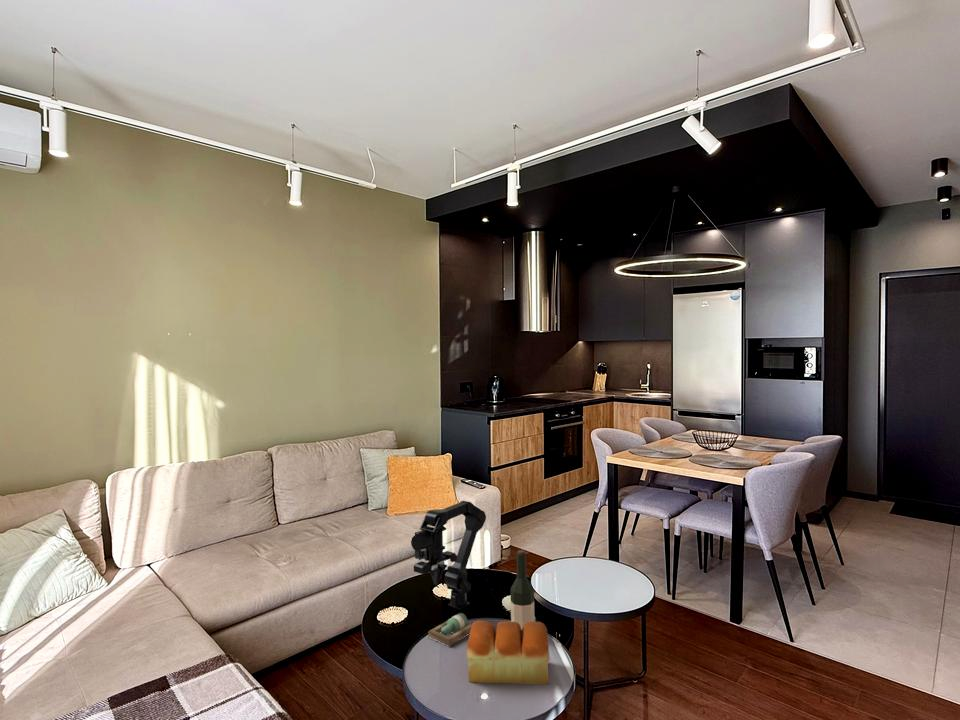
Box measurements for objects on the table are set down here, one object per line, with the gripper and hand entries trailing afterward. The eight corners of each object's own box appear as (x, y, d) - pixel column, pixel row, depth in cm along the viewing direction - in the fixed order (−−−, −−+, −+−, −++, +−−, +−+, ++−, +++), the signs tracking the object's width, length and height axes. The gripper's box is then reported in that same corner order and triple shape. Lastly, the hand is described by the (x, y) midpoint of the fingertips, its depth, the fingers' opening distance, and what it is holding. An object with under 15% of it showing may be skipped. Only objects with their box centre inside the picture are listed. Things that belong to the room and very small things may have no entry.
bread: (548, 662, 170) (547, 616, 170) (549, 685, 157) (548, 635, 158) (471, 660, 172) (470, 614, 172) (467, 683, 160) (466, 633, 160)
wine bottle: (534, 630, 190) (532, 547, 191) (535, 642, 182) (532, 555, 183) (511, 630, 191) (510, 547, 192) (511, 641, 183) (509, 555, 184)
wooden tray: (455, 622, 198) (455, 616, 198) (476, 630, 191) (476, 623, 191) (428, 638, 187) (428, 631, 187) (449, 647, 180) (449, 639, 180)
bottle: (456, 611, 195) (437, 621, 188) (467, 614, 192) (448, 625, 184) (457, 626, 195) (438, 637, 187) (468, 629, 192) (450, 641, 184)
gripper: (437, 534, 216) (437, 572, 215) (403, 546, 201) (404, 587, 201) (457, 539, 209) (458, 578, 208) (423, 552, 194) (424, 594, 194)
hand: (436, 584), depth 203 cm, fingers closed
